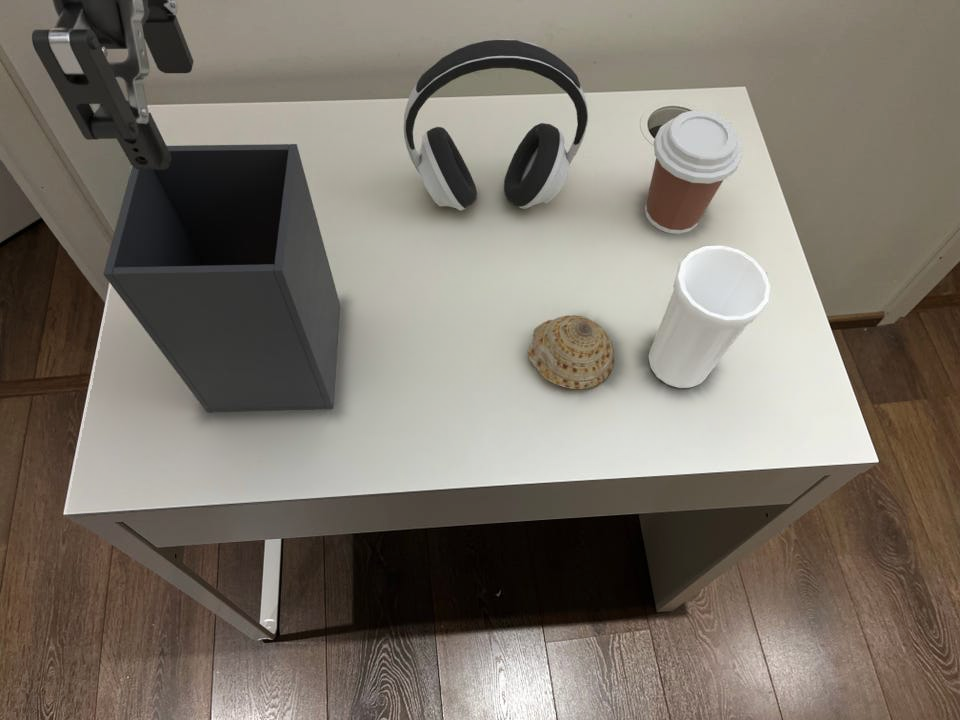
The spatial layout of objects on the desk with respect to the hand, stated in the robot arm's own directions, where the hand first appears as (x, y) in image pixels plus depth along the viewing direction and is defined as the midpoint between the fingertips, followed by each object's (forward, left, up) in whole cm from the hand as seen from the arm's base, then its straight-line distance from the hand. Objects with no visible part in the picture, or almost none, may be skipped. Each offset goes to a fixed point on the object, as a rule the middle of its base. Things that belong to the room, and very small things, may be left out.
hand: (166, 115), depth 44 cm
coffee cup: (+44, +18, -31) cm, 57 cm away
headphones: (+23, +21, -31) cm, 44 cm away
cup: (+41, -2, -31) cm, 51 cm away
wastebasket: (0, 0, -31) cm, 31 cm away
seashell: (+30, -1, -31) cm, 43 cm away
